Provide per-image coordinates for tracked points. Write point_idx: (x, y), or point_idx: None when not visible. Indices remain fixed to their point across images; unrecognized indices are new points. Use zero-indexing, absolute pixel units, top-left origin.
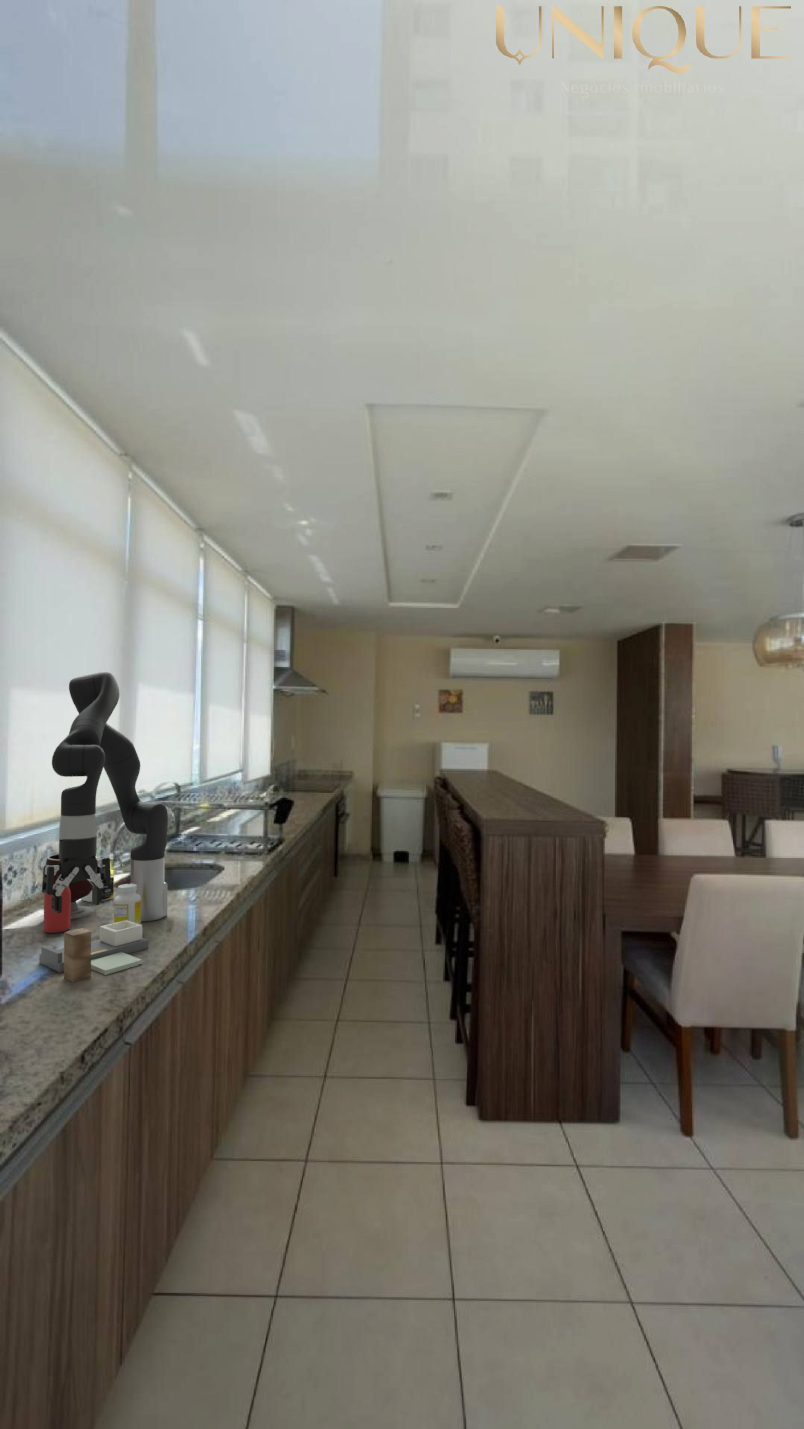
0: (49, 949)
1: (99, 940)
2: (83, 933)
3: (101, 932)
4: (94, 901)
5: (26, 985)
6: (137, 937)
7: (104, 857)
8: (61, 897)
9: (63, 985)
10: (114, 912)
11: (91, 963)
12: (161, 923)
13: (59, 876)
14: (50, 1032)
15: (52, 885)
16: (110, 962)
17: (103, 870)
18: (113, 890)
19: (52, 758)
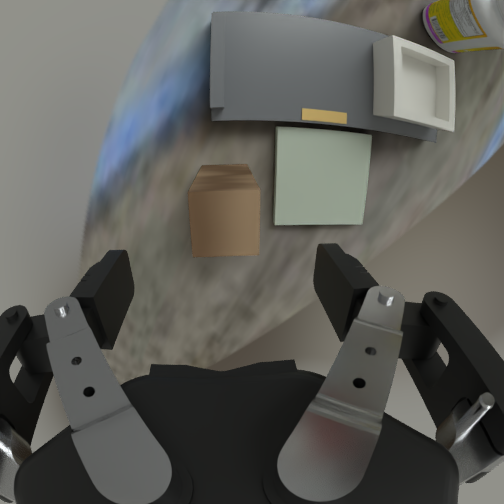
0: (213, 52)
1: (374, 38)
2: (230, 255)
3: (385, 46)
4: (321, 271)
5: (125, 152)
6: (426, 126)
7: (502, 461)
8: (112, 343)
9: (180, 212)
10: (454, 1)
11: (282, 151)
12: (493, 50)
13: (57, 383)
14: (115, 363)
15: (40, 399)
16: (313, 183)
17: (443, 400)
18: None
19: None
